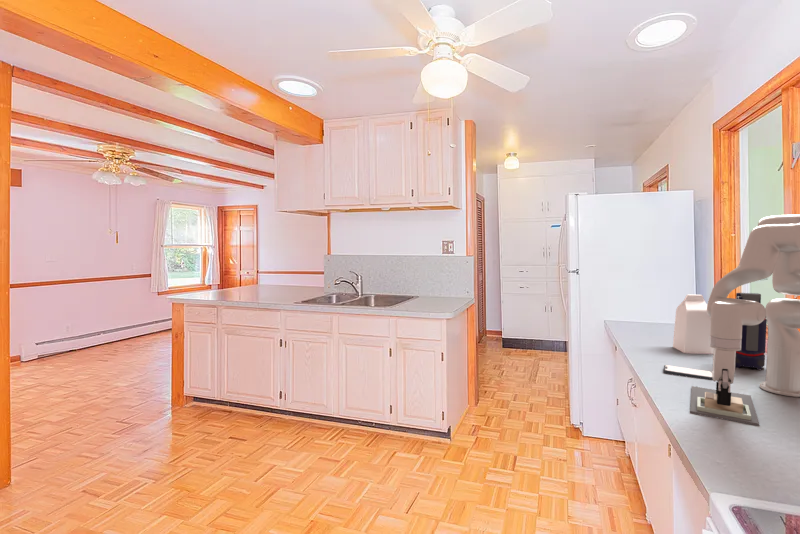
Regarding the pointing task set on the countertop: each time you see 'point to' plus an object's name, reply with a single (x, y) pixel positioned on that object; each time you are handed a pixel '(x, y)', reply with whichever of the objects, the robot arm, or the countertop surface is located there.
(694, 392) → the mat
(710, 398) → the block
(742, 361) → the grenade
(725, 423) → the countertop surface
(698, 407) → the tray
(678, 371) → the smartphone
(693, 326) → the milk
